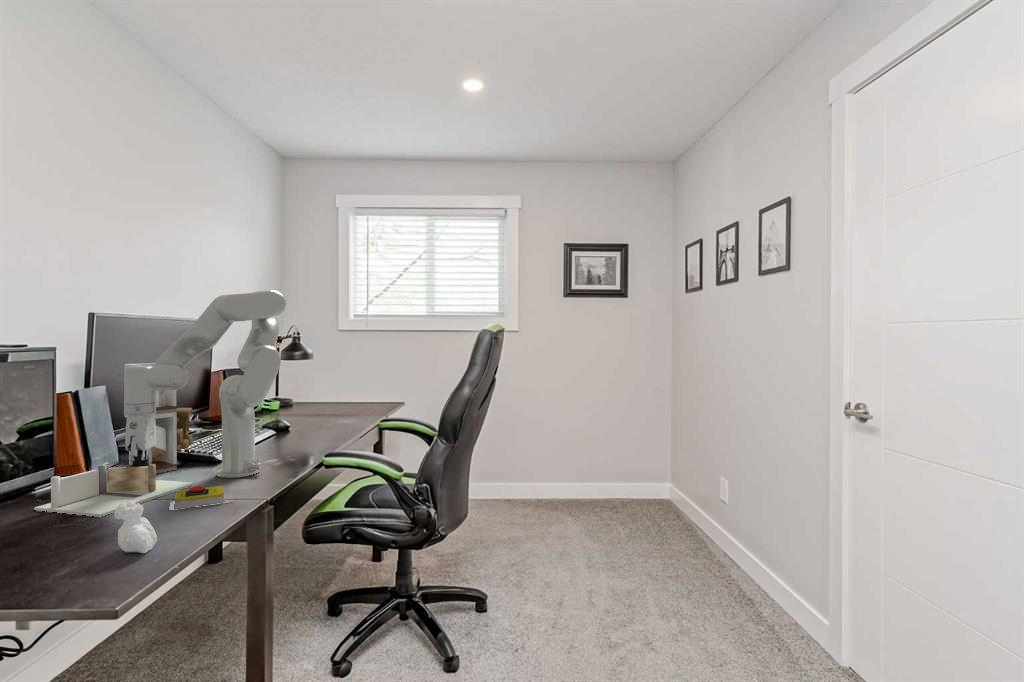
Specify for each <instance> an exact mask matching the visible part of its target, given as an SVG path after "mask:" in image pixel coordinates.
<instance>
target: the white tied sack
mask: <svg viewBox="0 0 1024 682" xmlns="http://www.w3.org/2000/svg"><path fill="white" fill-rule="evenodd" d="M143 512H144V505H142V504H139V503H137V504H136V503H135V501H133V502H132V501H130V502H127V503H123V504H120V505H119V506H118V507H117V509H116V510H115V513H113V514H114V515H113V516H114V518H115V519H116V520H123V524H122V525H121V526H120V527H119V528H118V531H117V537H118V538H117V544H118V546H119V547H120V549H121V550H122V551H123V552H124V553H140V554H147V553H148V552H149V551H152V550H153V548H154V546H155V545H156V543H157V541H158V536H157V533H156V531H155V528H154V527H153V526H152V524H151V522H150V521H149V520H148V518H146V517H144V516H142V515H143V514H144V513H143Z"/></svg>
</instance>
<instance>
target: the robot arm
mask: <svg viewBox="0 0 1024 682" xmlns="http://www.w3.org/2000/svg"><path fill="white" fill-rule="evenodd" d="M286 306H287V300H286V298H285V296H284V295H283V294H282V292H280V291H277V290H273V289H272V290H271V289H270V290H259V291H258V290H257V291H253V292H247V293H246V292H245V293H234V294H232V293H231V294H224V295H223V294H221V295H219V296H218V297H215V299H213V300H212V301H211V302H210V303H209V305H208V306H207V307H206V308H205V310H204V311H203V312H202V313H201V315H200V316H199V317H198V318H197V320H195V322H194V323H193V324H192V325H191V326H190V328H189V329H188V330H187V331H185V333H183V334H182V335H181V336H180V337H179V338H178V339H177V340H175V341H174V342H173V343H172V344H171V345H170V346H169V347H168V348H167V349H166V350H165V351H164V352H163V353H162V354H161V355H160V357H159V358H158V359H157V360H156V361H155V362H154V363H155V364H154V365H153V366H129V367H127V368H126V369H124V371H123V372H124V373H123V380H124V381H123V385H124V386H123V389H124V391H123V393H124V394H123V403H124V404H123V415H124V417H125V416H127V417H126V424H125V443H124V444H125V450H126V451H127V452H129V451H131V454H130V456H132V460H133V467H146V466H148V459H147V458H148V449H150V448H151V447H153V446H155V445H156V443H157V438H156V421H155V414H156V390H157V389H158V390H176V391H178V390H181V389H183V388H184V387H185V386H186V385H187V384H188V383H189V381H190V373H189V371H188V370H187V368H186V367H187V365H188V364H189V363H191V362H192V360H194V359H195V358H197V357H198V356H200V355H202V354H203V353H206V352H208V351H209V350H212V348H214V347H215V346H216V345H217V344H218V343H219V341H220V340H221V339H222V337H224V335H225V334H226V332H227V331H228V330H229V328H231V326H232V325H233V323H234V322H246V321H251V327H250V331H249V333H248V336H247V338H246V340H245V341H244V344H243V346H242V348H241V350H240V352H239V355H238V356H237V360H236V361H237V366H238V368H239V369H240V370H241V371H242V372H244V373H243V375H242V374H241V375H239V374H234V375H231V376H228V377H227V378H225V379H224V380H223V381H222V383H220V385H219V391H218V396H219V403H220V410H221V468H220V469H218V470H217V471H216V473H215V475H216V476H217V477H218V478H222V479H233V478H234V479H235V478H236V479H237V478H245V477H250V476H254V475H256V473H257V474H259V473H258V472H261V471H262V470H263V468H264V466H265V463H264V462H258V461H259V459H258V458H257V457H256V443H255V442H256V431H255V429H256V426H255V425H256V416H255V407H258V406H259V405H261V404H262V403H263V402H264V401H265V400H266V398H267V397H268V395H269V394H270V393H269V392H270V390H271V389H272V386H273V384H274V381H275V380H276V377H277V376H278V373H279V370H280V368H281V363H282V360H281V359H282V358H281V355H280V352H279V351H278V349H276V348H275V345H276V342H277V340H278V338H279V334H280V333H279V332H280V325H279V320H278V316H279V315H281V314H282V313H283V312H284V311H285V309H286ZM253 474H254V475H253ZM249 475H250V476H249Z"/></svg>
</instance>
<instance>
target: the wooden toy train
mask: <svg viewBox="0 0 1024 682" xmlns="http://www.w3.org/2000/svg"><path fill="white" fill-rule="evenodd" d="M192 417H193V408H192V407H176V418H177V450H180V449H185V448H188V447H189V445H191V444H193V445H194V437H193V435H192V434H190V433H189V432H190V431H189V430H190V418H192Z"/></svg>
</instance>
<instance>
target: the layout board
mask: <svg viewBox="0 0 1024 682" xmlns="http://www.w3.org/2000/svg"><path fill="white" fill-rule="evenodd" d="M191 485H194V486H195V482H191V481H190V482H189V481H178V480H177V481H176V480H164V479H163V480H162V479H156V490H154V491H134V492H109V493H104V494H99V495H96V496H93V497H90V498H86V499H83V500H80V501H76V502H73V503H70V504H66V505H63V506H60V507H58V508H51V502H49V503H46V504H42V505H39V506H35V507H33V510H36V511H35V512H42V511H45V513H52V512H57V513H56V514H62V513H66V514H65V515H72V514H76V515H75V516H82V515H86V516H85V517H92V516H94V518H103V517H106V516H108V514H109V515H111V513H112V514H114V512H115V510H116V509H117V507H118V506H119V505H120V504H123V503H127V502H130V501H132V502H133V501H135V503H136V504H137V503H139V504H140V503H141V504H144V503H147V502H150V501H153V500H155V499H154V498H156V499H158V498H157V497H159V498H160V496H162V497H164V496H163V495H165V496H167V495H169V493H170V494H173V493H176V492H177V490H179V491H180V489H182V490H184V489H183V488H185V489H187V488H186V487H188V488H190V487H189V486H191ZM191 487H192V486H191ZM175 491H176V492H175ZM172 492H173V493H172ZM166 494H167V495H166ZM152 499H153V500H152ZM149 500H150V501H149ZM146 501H147V502H146ZM143 502H144V503H143ZM141 504H140V505H141ZM46 511H47V512H46ZM105 515H106V516H105ZM102 516H103V517H102Z"/></svg>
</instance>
